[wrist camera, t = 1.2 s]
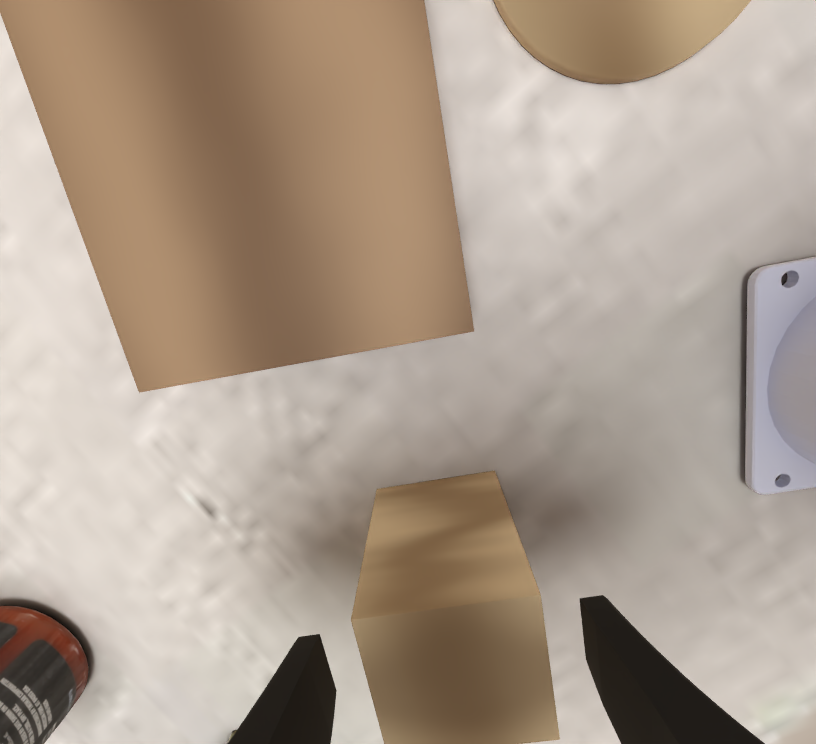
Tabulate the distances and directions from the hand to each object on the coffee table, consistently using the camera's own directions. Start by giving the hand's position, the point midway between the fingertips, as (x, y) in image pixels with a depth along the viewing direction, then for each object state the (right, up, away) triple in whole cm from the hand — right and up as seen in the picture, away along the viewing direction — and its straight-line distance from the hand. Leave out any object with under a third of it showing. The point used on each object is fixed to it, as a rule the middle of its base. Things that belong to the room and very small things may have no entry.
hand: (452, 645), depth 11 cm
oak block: (0, +1, +5) cm, 5 cm away
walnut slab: (-5, +13, +2) cm, 14 cm away
